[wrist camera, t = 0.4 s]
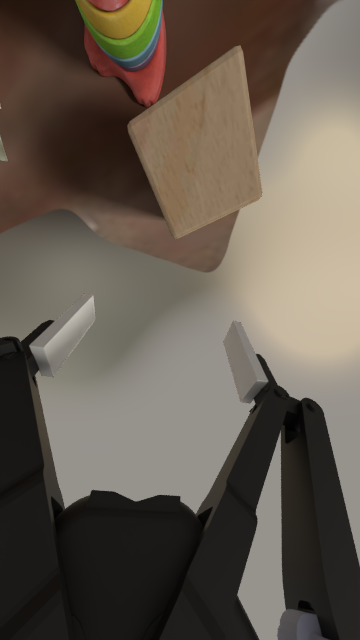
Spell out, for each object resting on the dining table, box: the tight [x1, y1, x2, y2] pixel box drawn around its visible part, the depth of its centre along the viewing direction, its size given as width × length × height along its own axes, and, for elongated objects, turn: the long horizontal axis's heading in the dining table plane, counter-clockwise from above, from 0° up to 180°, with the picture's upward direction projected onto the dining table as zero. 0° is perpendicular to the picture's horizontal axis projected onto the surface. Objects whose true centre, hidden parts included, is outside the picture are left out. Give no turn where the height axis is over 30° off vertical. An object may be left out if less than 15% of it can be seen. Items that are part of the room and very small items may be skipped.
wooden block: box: [127, 46, 262, 239], centre depth 24 cm, size 10×10×20 cm
